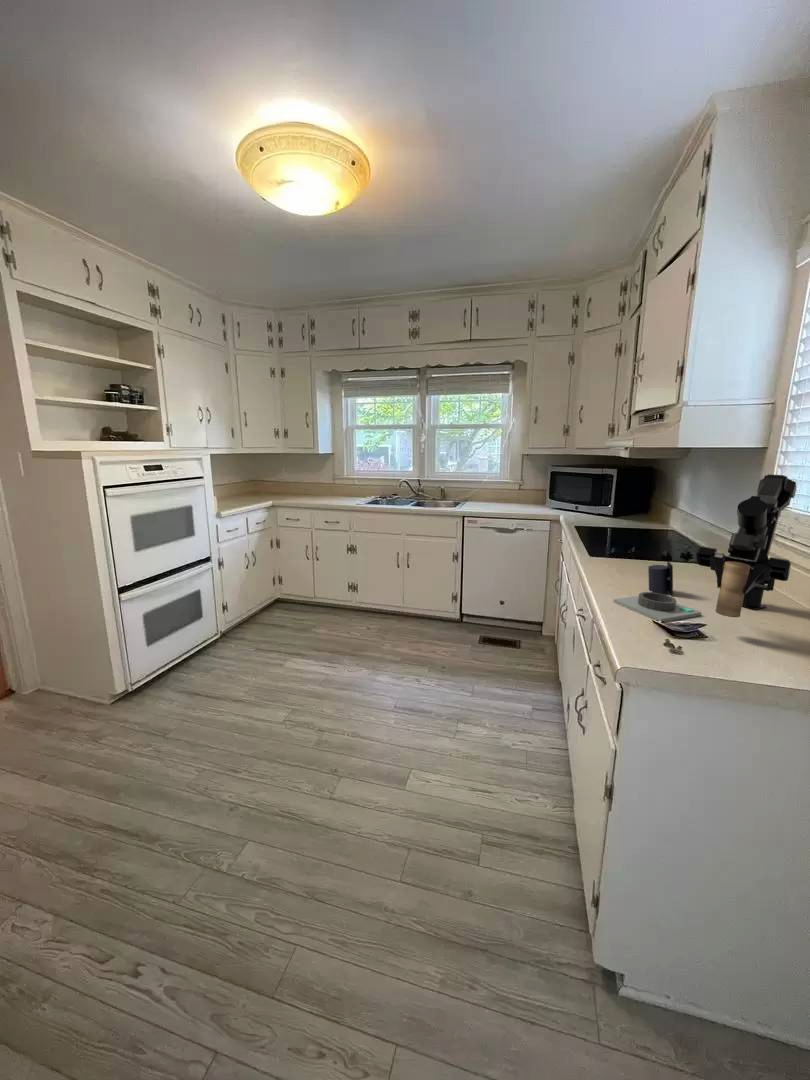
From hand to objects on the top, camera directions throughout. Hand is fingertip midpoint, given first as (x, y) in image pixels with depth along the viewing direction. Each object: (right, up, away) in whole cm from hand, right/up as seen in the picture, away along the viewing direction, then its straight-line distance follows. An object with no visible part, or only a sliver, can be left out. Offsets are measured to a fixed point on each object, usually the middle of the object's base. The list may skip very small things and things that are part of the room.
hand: (731, 589), depth 106 cm
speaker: (+3, -5, +36) cm, 37 cm away
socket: (-7, -8, +21) cm, 23 cm away
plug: (+1, -6, +2) cm, 7 cm away
